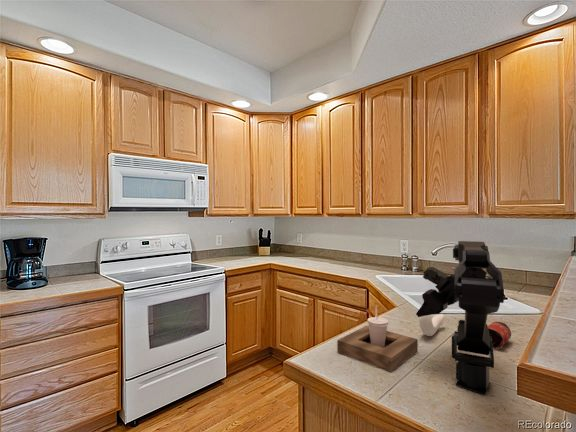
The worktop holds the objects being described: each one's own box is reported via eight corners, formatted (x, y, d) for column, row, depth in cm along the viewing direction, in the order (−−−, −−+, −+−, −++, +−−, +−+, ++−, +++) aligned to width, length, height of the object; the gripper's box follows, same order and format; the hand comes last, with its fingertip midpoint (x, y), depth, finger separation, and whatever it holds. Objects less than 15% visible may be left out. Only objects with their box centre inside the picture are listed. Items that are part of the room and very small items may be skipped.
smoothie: (378, 345, 102) (378, 302, 102) (393, 352, 97) (392, 307, 97) (363, 349, 99) (362, 305, 99) (377, 357, 94) (377, 310, 94)
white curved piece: (445, 328, 118) (444, 290, 118) (431, 344, 104) (431, 300, 104) (431, 325, 121) (431, 288, 122) (416, 341, 107) (416, 298, 107)
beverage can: (513, 342, 105) (513, 322, 105) (503, 353, 97) (503, 331, 97) (489, 336, 111) (489, 317, 111) (478, 346, 103) (477, 325, 103)
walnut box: (417, 351, 98) (417, 339, 98) (391, 372, 85) (391, 357, 85) (366, 336, 111) (366, 325, 111) (337, 352, 98) (337, 340, 98)
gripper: (451, 256, 98) (416, 285, 106) (429, 262, 85) (391, 295, 92) (480, 284, 93) (441, 313, 100) (461, 296, 79) (418, 328, 87)
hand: (423, 312), depth 95 cm, fingers open, 9 cm apart
